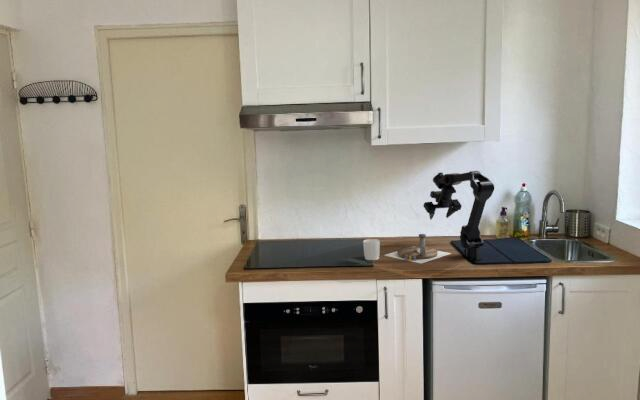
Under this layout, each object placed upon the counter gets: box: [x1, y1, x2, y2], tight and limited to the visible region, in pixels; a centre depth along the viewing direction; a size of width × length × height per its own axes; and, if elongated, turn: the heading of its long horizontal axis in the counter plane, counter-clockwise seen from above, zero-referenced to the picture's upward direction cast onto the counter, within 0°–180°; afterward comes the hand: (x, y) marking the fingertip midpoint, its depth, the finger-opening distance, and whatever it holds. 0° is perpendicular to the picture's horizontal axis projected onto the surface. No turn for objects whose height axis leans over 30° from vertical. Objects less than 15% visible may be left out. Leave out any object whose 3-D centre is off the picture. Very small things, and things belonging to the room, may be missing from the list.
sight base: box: [383, 245, 452, 265], centre depth 243 cm, size 23×23×4 cm
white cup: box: [362, 238, 381, 261], centre depth 240 cm, size 8×8×10 cm
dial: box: [397, 233, 438, 259], centre depth 243 cm, size 19×19×11 cm
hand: (438, 218), depth 261 cm, fingers open, 9 cm apart
